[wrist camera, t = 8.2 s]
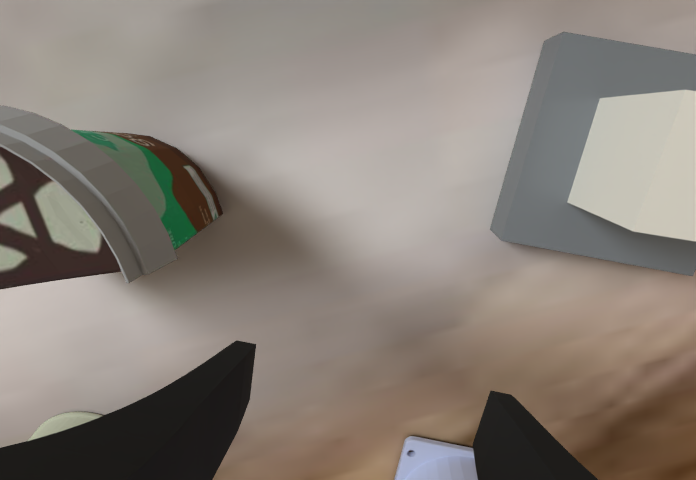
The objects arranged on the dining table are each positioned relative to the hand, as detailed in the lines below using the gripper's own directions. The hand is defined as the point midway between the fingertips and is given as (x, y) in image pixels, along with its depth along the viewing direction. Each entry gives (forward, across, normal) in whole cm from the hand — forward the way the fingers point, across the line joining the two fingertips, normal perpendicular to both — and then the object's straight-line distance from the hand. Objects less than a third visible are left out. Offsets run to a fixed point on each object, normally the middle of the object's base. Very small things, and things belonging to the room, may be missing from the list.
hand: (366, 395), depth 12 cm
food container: (+11, +14, -3) cm, 18 cm away
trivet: (+10, -10, -8) cm, 16 cm away
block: (+8, -10, -8) cm, 15 cm away
